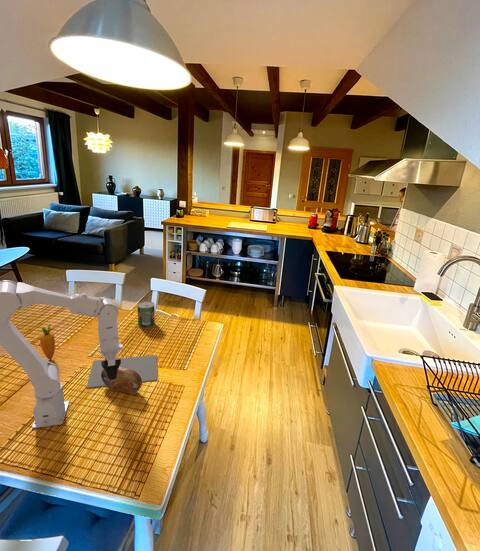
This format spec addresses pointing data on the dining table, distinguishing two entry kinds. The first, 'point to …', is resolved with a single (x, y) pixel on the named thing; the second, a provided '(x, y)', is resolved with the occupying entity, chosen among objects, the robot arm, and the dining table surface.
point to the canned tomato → (146, 314)
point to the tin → (123, 380)
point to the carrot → (47, 342)
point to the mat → (140, 364)
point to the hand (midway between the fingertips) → (111, 371)
